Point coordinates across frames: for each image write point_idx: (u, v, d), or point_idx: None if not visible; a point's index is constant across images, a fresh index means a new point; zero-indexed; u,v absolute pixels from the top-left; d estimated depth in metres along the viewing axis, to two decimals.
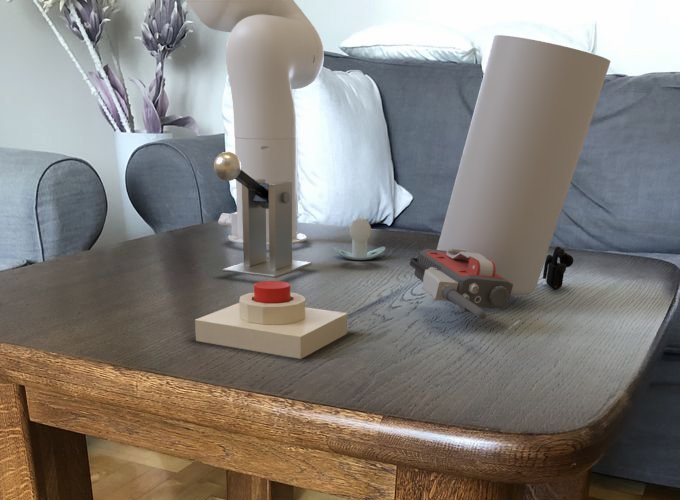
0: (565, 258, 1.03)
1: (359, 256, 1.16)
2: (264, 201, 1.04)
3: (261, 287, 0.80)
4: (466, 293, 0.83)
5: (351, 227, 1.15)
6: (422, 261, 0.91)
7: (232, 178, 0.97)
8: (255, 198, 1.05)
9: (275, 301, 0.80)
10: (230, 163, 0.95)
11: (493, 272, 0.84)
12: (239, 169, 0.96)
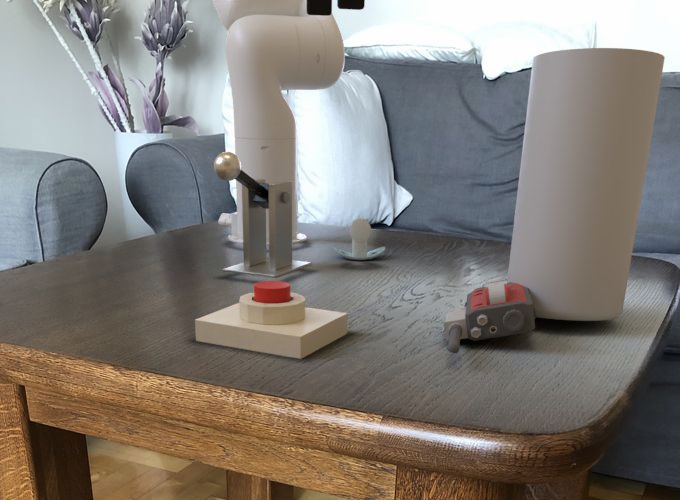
0: None
1: (359, 256, 1.16)
2: (264, 201, 1.04)
3: (261, 287, 0.80)
4: (476, 326, 0.80)
5: (351, 227, 1.15)
6: None
7: (232, 178, 0.97)
8: (255, 198, 1.05)
9: (275, 301, 0.80)
10: (230, 163, 0.95)
11: (506, 297, 0.79)
12: (239, 169, 0.96)
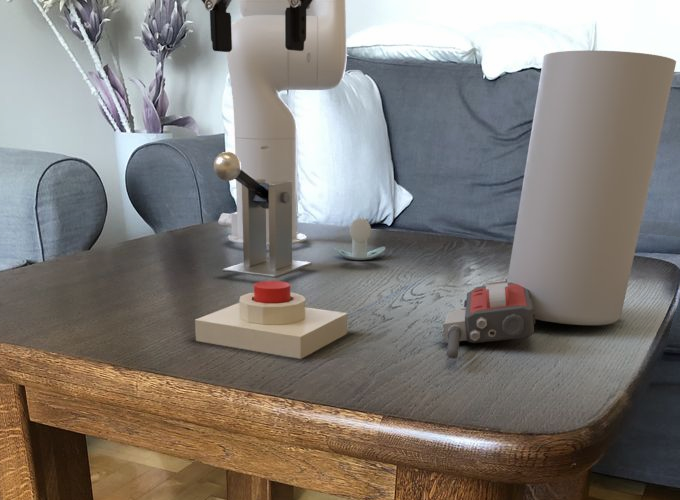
0: None
1: (359, 256, 1.16)
2: (264, 201, 1.04)
3: (261, 287, 0.80)
4: (476, 329, 0.80)
5: (351, 227, 1.15)
6: None
7: (232, 178, 0.97)
8: (255, 198, 1.05)
9: (275, 301, 0.80)
10: (230, 163, 0.95)
11: (506, 301, 0.79)
12: (239, 169, 0.96)
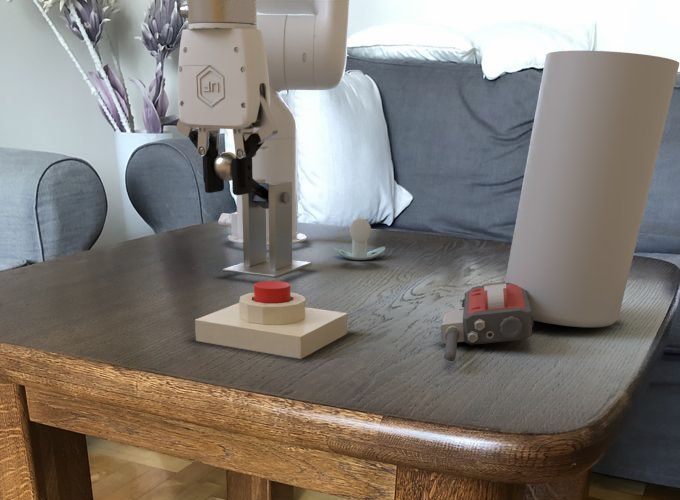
0: None
1: (359, 256, 1.16)
2: (264, 201, 1.04)
3: (261, 287, 0.80)
4: (473, 331, 0.79)
5: (351, 227, 1.15)
6: None
7: None
8: (255, 198, 1.05)
9: (275, 301, 0.80)
10: (230, 163, 0.95)
11: (505, 303, 0.78)
12: None
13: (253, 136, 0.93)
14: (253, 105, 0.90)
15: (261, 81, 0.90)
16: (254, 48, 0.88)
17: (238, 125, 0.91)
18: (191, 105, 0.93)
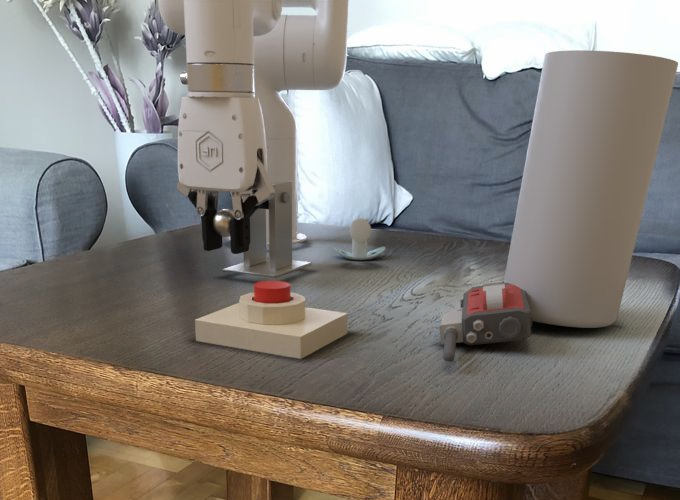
0: None
1: (359, 256, 1.16)
2: (267, 208, 1.05)
3: (261, 287, 0.80)
4: (472, 331, 0.79)
5: (351, 227, 1.15)
6: None
7: None
8: None
9: (275, 301, 0.80)
10: (229, 227, 0.98)
11: (503, 303, 0.78)
12: None
13: (251, 198, 0.95)
14: (250, 170, 0.92)
15: (258, 146, 0.93)
16: (252, 116, 0.91)
17: (236, 189, 0.93)
18: (190, 168, 0.95)
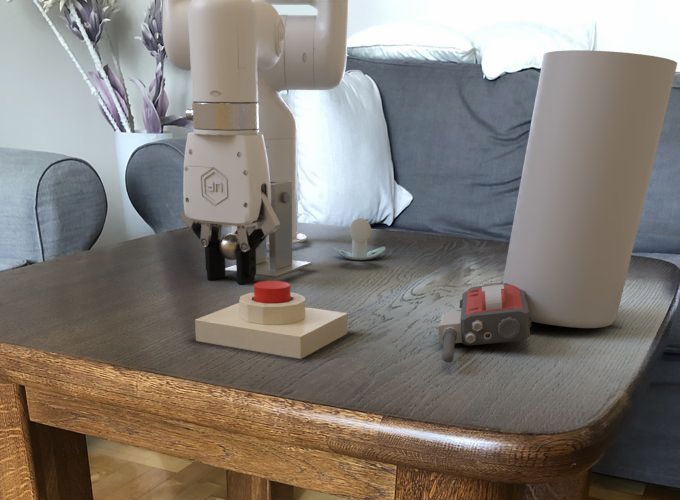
0: None
1: (359, 256, 1.16)
2: None
3: (261, 287, 0.80)
4: (471, 332, 0.79)
5: (351, 227, 1.15)
6: None
7: None
8: None
9: (275, 301, 0.80)
10: (235, 253, 1.00)
11: (502, 304, 0.78)
12: None
13: (257, 232, 0.97)
14: (255, 205, 0.95)
15: (262, 182, 0.95)
16: (256, 153, 0.93)
17: (241, 223, 0.96)
18: (196, 202, 0.97)
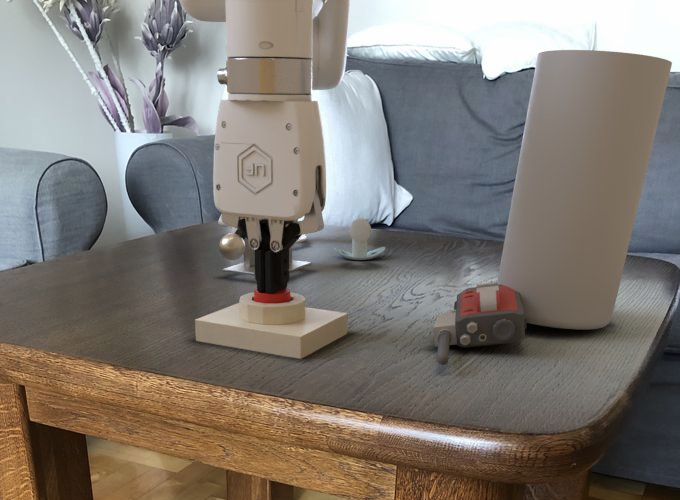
0: None
1: (359, 256, 1.16)
2: None
3: (261, 293, 0.80)
4: (466, 334, 0.78)
5: (351, 227, 1.15)
6: None
7: (242, 254, 1.02)
8: None
9: None
10: (235, 253, 1.00)
11: (497, 305, 0.78)
12: (244, 247, 1.01)
13: (292, 226, 0.76)
14: (308, 193, 0.73)
15: (317, 163, 0.73)
16: (310, 124, 0.71)
17: (288, 216, 0.74)
18: (230, 190, 0.76)
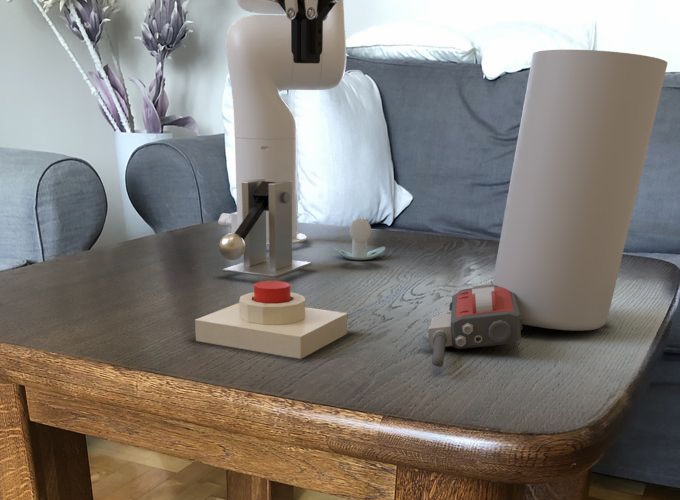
0: None
1: (359, 256, 1.16)
2: (268, 210, 1.06)
3: (261, 287, 0.80)
4: (461, 335, 0.78)
5: (351, 227, 1.15)
6: None
7: (242, 254, 1.02)
8: None
9: (275, 301, 0.80)
10: (235, 253, 1.00)
11: (493, 306, 0.77)
12: (244, 247, 1.01)
13: None
14: None
15: None
16: None
17: None
18: None
